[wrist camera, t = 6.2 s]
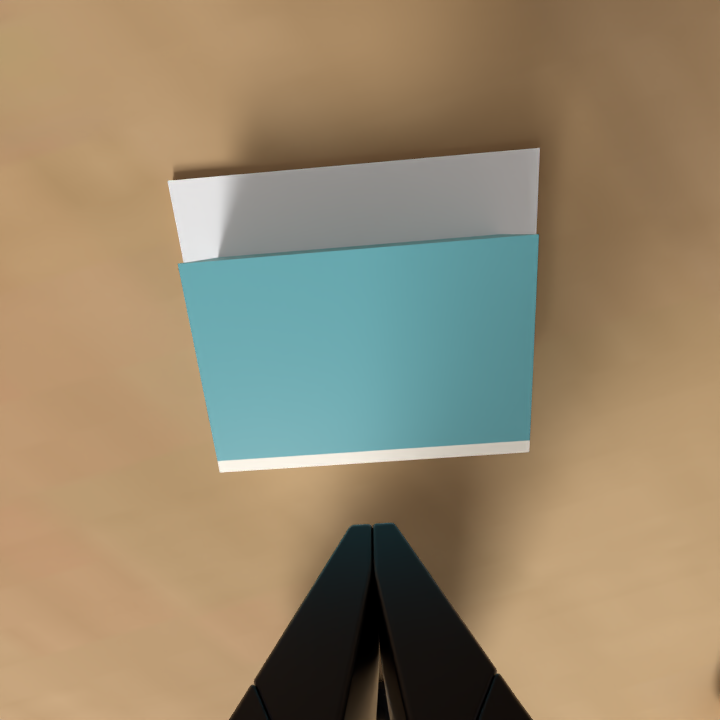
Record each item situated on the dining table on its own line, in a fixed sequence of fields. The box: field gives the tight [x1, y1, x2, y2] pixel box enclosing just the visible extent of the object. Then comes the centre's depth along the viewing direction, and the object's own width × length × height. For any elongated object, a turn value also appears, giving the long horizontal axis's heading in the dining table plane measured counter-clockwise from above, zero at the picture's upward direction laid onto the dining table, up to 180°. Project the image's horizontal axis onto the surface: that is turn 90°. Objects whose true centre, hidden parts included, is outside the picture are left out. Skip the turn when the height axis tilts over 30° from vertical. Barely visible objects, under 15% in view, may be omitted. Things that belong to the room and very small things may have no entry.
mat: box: [168, 148, 540, 263], centre depth 18 cm, size 10×15×1 cm, turn 95°
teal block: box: [178, 234, 539, 472], centre depth 17 cm, size 4×12×8 cm
